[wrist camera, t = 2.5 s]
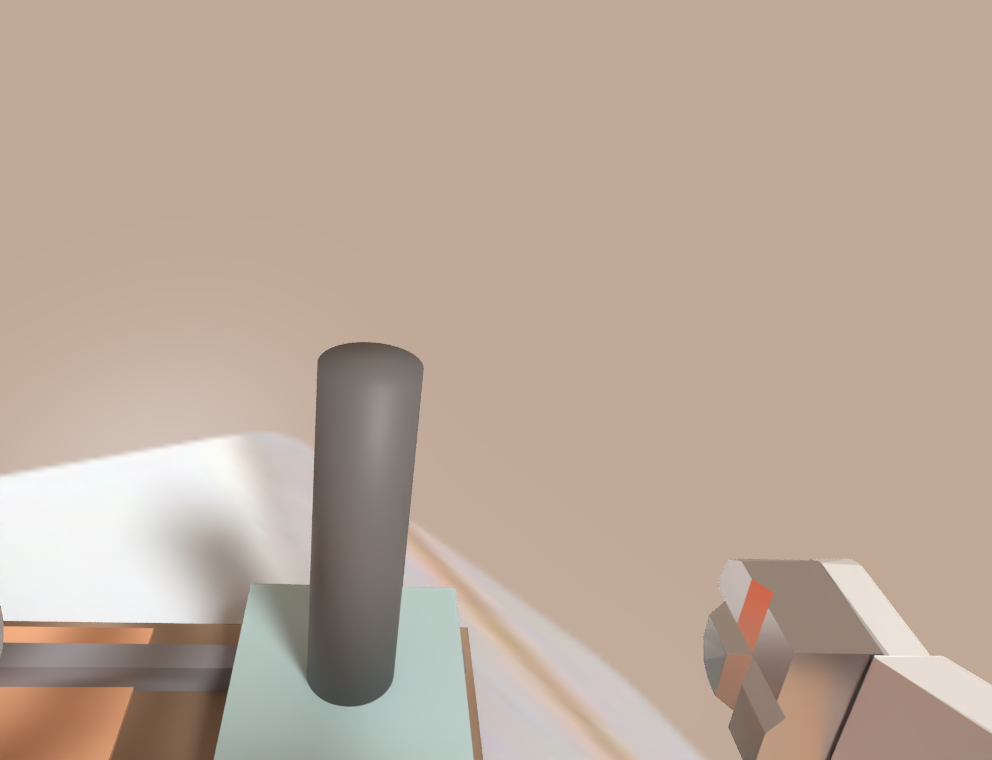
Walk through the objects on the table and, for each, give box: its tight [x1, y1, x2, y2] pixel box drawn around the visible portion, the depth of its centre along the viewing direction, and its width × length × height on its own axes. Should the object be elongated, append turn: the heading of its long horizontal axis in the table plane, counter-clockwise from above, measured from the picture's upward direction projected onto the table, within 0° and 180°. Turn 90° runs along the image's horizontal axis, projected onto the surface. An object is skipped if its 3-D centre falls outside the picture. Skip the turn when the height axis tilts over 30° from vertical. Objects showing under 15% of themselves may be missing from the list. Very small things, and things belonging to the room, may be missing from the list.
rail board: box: [0, 621, 483, 760], centre depth 30 cm, size 26×12×4 cm, turn 97°
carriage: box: [214, 342, 474, 760], centre depth 27 cm, size 8×9×14 cm
